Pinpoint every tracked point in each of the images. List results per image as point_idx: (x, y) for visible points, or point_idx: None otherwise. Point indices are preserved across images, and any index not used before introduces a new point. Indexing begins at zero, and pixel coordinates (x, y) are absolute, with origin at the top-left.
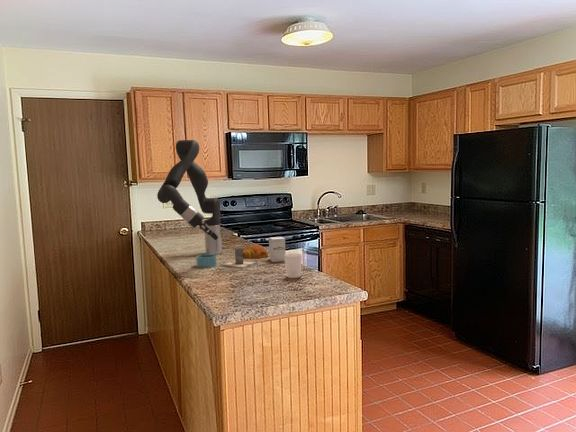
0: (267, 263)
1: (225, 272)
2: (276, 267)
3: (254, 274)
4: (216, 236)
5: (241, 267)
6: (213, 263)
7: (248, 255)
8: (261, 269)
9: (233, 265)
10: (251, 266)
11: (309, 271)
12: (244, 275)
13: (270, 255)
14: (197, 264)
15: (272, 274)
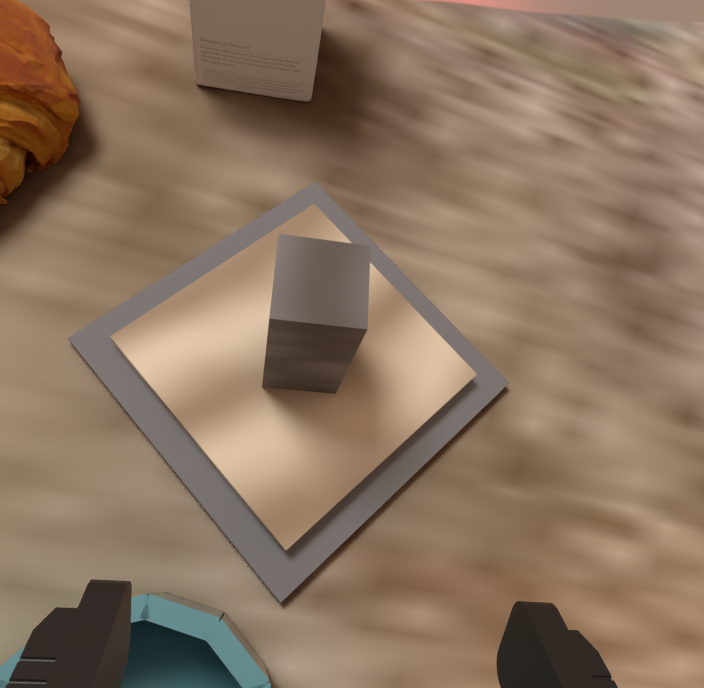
0: (312, 140)
1: (540, 558)
2: (486, 142)
3: (672, 346)
4: (572, 651)
5: (467, 382)
6: (253, 653)
7: (3, 178)
8: (518, 250)
9: (382, 435)
10: (417, 288)
11: (659, 43)
12: (690, 424)
13: (248, 51)
14: None
15: (695, 240)
